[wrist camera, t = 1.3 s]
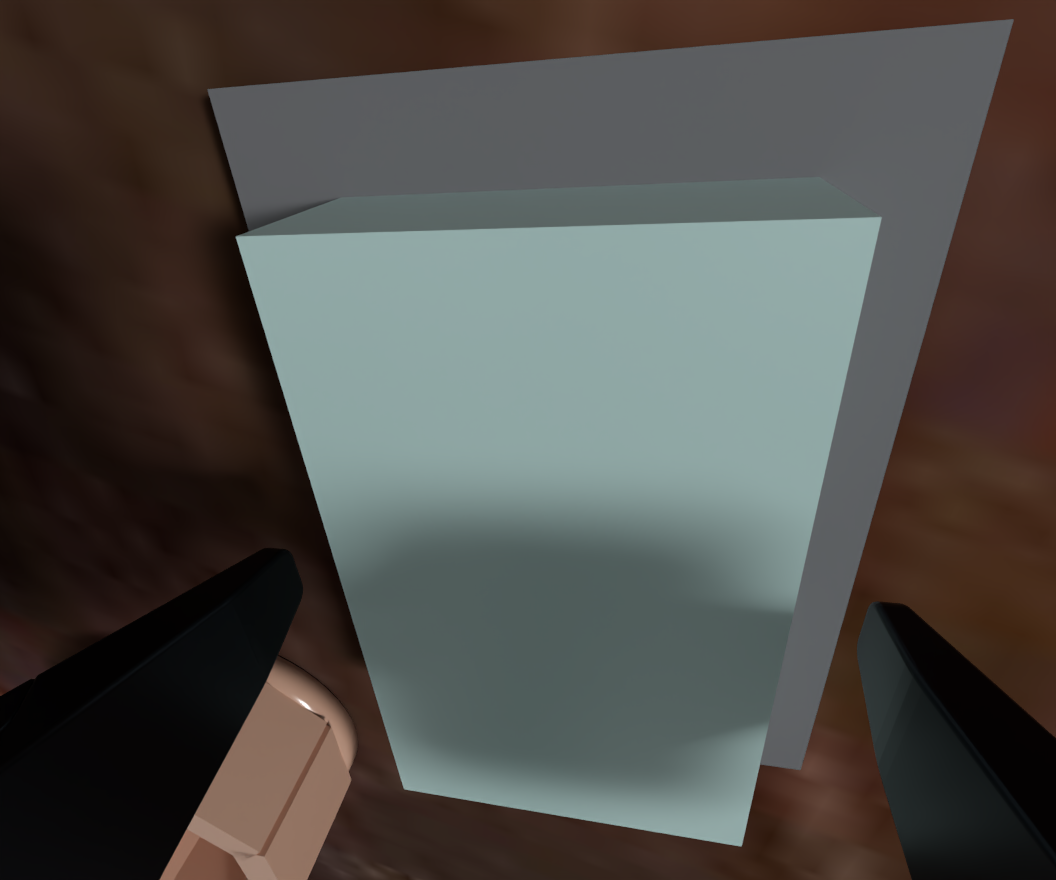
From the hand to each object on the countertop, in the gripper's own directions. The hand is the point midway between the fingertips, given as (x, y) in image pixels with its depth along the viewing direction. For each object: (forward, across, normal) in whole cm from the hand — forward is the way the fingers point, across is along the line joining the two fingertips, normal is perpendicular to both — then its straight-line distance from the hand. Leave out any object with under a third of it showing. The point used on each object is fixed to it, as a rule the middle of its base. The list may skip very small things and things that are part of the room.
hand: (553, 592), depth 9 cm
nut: (+3, +10, +9) cm, 14 cm away
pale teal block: (+2, 0, 0) cm, 2 cm away
